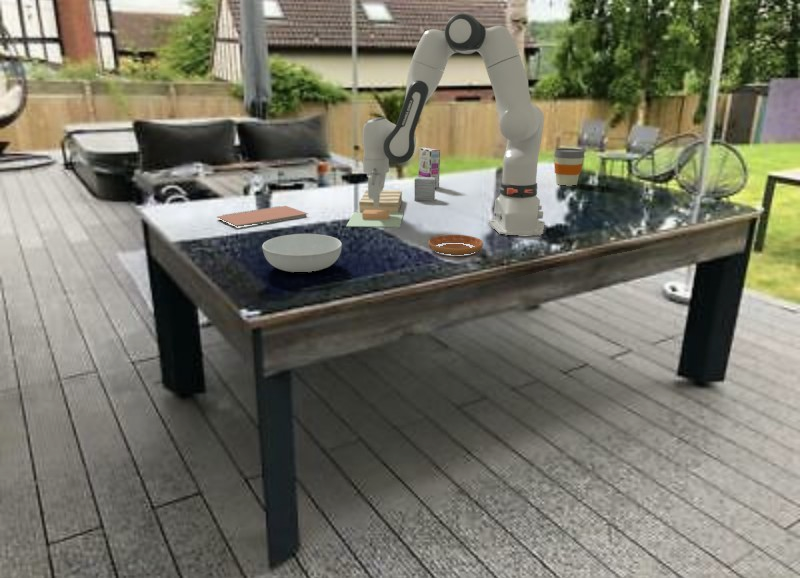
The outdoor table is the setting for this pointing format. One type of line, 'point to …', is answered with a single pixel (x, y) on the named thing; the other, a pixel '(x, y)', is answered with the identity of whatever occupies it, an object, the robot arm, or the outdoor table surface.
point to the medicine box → (424, 189)
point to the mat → (375, 221)
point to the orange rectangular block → (376, 214)
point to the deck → (382, 201)
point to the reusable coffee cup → (568, 165)
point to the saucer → (455, 248)
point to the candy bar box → (429, 164)
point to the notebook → (262, 216)
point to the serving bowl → (302, 252)
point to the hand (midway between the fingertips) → (376, 206)
